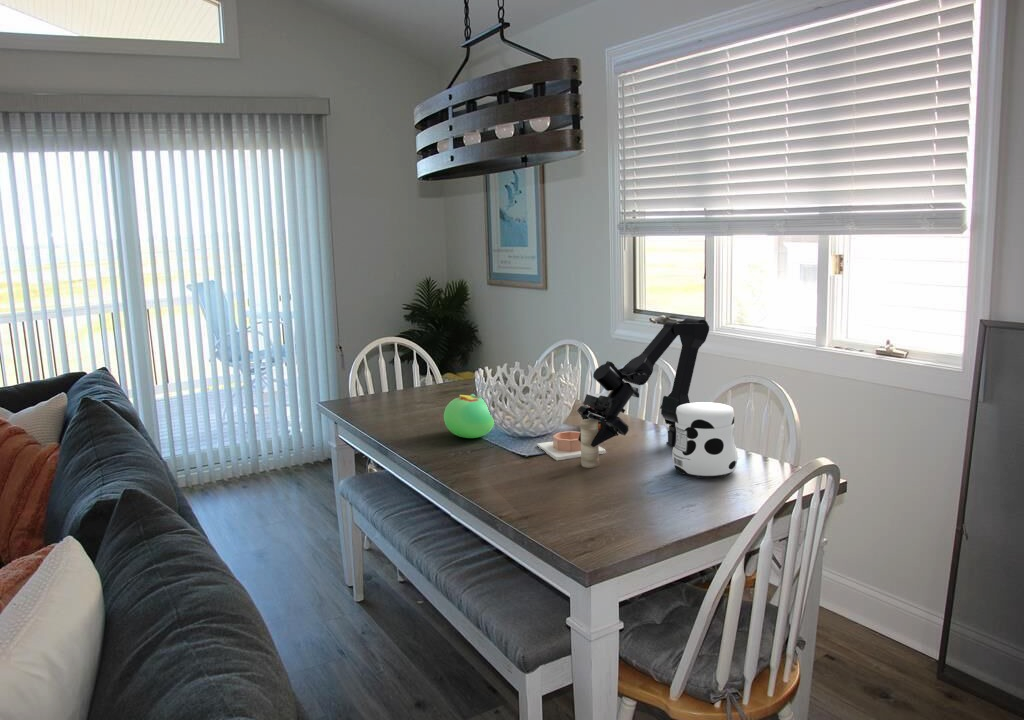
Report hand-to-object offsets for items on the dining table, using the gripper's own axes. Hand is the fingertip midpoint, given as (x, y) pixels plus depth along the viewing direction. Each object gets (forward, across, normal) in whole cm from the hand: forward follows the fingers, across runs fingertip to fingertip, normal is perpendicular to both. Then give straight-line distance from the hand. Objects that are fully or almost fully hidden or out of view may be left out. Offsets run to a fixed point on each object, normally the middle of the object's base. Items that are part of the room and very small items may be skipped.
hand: (585, 443), depth 220 cm
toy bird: (+14, -48, -5) cm, 50 cm away
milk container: (-12, +24, +21) cm, 34 cm away
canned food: (-14, -32, +24) cm, 42 cm away
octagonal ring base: (+1, -16, +8) cm, 18 cm away
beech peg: (+4, 0, +6) cm, 7 cm away
